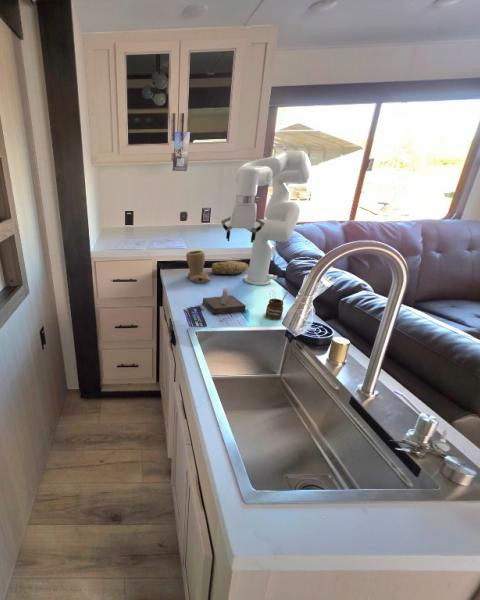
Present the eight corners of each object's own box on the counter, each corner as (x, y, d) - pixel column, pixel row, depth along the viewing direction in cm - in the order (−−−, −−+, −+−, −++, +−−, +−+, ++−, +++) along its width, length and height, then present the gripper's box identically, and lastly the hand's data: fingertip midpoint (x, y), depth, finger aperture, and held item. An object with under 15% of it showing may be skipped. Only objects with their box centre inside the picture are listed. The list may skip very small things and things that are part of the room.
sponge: (212, 278, 172) (251, 273, 167) (211, 264, 170) (250, 258, 165) (212, 274, 184) (248, 270, 179) (210, 261, 183) (246, 256, 178)
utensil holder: (266, 312, 130) (271, 285, 125) (282, 315, 127) (288, 288, 122) (263, 318, 125) (269, 290, 121) (281, 321, 122) (287, 293, 118)
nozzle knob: (222, 298, 136) (223, 287, 134) (226, 299, 135) (227, 287, 133) (221, 304, 130) (222, 292, 128) (225, 304, 130) (227, 292, 128)
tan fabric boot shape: (183, 274, 174) (185, 247, 168) (205, 274, 173) (208, 248, 167) (186, 284, 160) (188, 255, 154) (210, 284, 160) (213, 255, 154)
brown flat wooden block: (231, 301, 140) (232, 294, 139) (244, 312, 130) (245, 305, 129) (202, 304, 138) (202, 297, 136) (213, 315, 128) (214, 308, 126)
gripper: (267, 199, 129) (260, 240, 136) (223, 198, 134) (219, 238, 141) (269, 201, 123) (261, 244, 130) (223, 200, 127) (218, 242, 135)
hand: (239, 241), depth 135 cm, fingers open, 9 cm apart
